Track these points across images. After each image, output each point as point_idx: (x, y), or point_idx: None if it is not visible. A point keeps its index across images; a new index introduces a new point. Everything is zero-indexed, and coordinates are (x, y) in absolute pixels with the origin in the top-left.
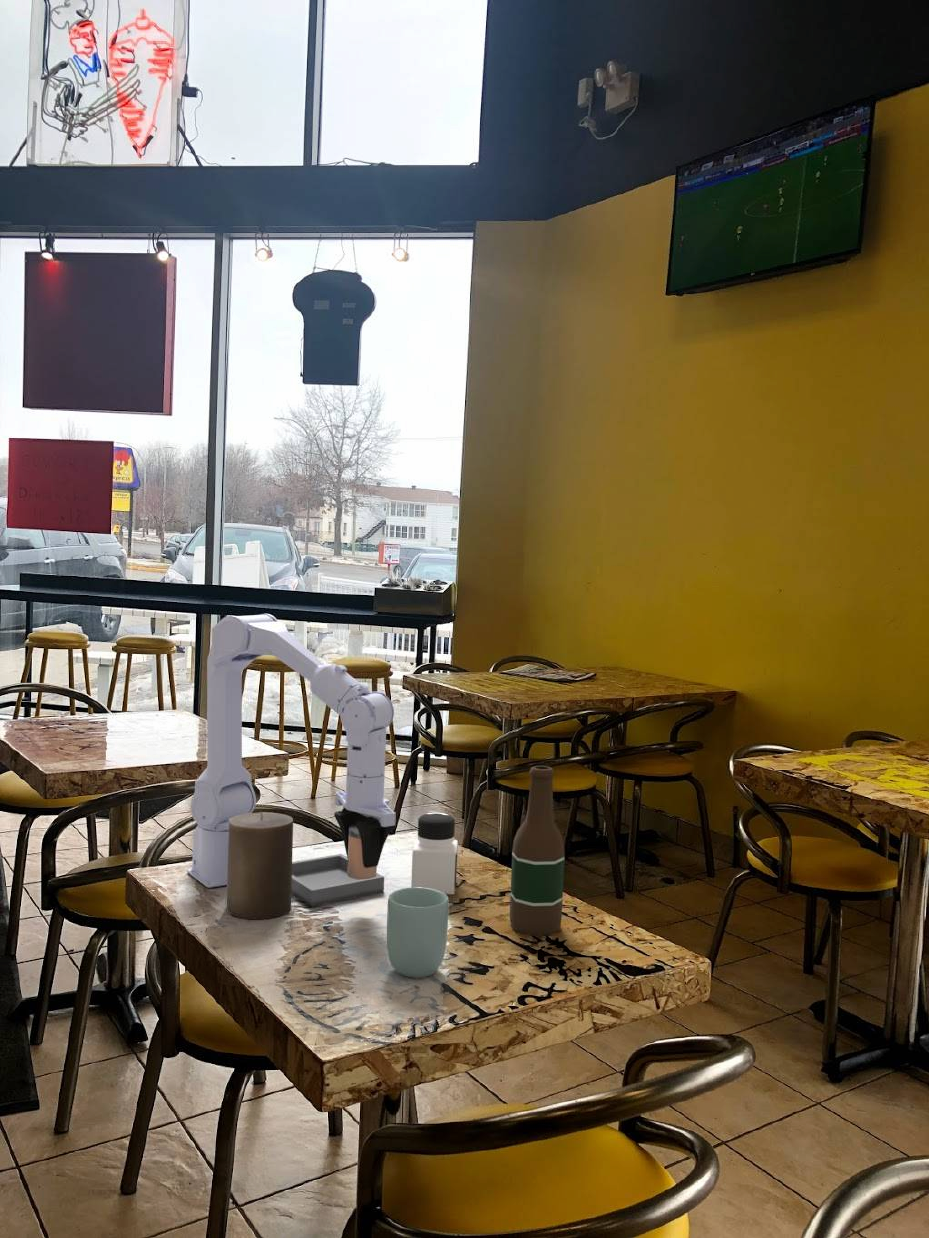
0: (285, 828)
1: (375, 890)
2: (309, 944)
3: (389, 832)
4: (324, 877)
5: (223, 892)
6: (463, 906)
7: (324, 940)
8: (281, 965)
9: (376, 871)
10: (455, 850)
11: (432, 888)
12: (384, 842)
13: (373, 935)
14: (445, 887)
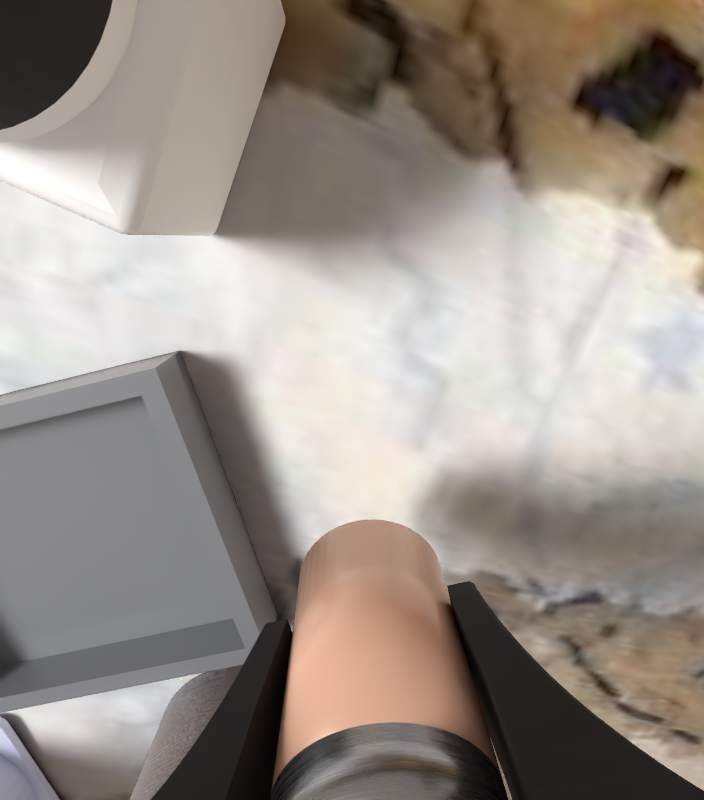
0: None
1: (189, 392)
2: (565, 672)
3: (650, 758)
4: (9, 533)
5: (103, 785)
6: (449, 43)
7: (556, 636)
8: (657, 744)
9: (402, 535)
10: None
11: (243, 133)
12: (559, 686)
13: (586, 508)
14: (267, 59)
